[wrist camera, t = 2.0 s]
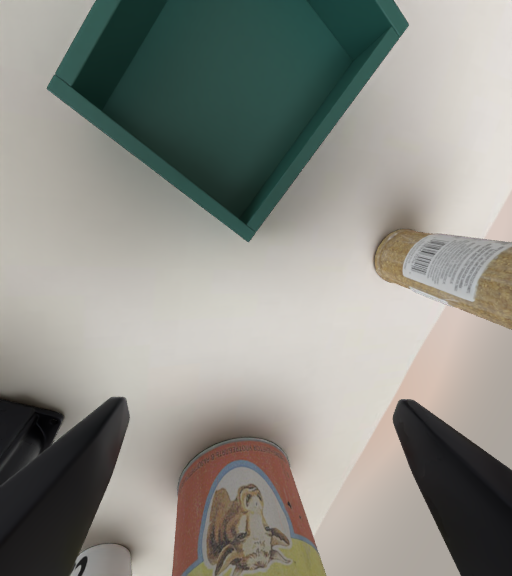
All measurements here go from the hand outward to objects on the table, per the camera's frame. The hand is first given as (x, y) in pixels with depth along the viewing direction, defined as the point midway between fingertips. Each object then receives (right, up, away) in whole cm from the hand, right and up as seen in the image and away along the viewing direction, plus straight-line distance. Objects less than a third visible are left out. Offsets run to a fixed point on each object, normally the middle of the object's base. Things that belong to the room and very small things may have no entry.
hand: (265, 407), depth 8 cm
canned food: (-2, -16, +18) cm, 24 cm away
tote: (-2, +16, +7) cm, 18 cm away
